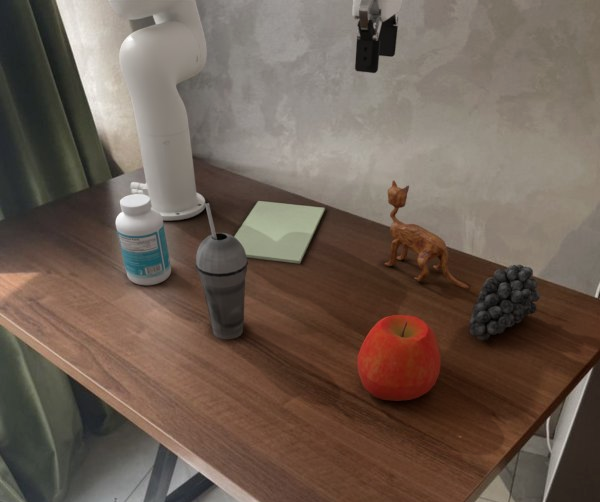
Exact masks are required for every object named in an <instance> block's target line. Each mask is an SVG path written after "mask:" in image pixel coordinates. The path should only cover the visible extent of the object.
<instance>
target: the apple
mask: <svg viewBox="0 0 600 502" xmlns="http://www.w3.org/2000/svg"><path fill="white" fill-rule="evenodd" d="M440 353H441V352H440V348H439V343H438V339H437V336H436V335H435V332H434V330H433V328H432V327H431V326H429V324H428V323H426V321H424V320H423V319H420V318H418V317H416V316H415V315H414V316H413V315H407V314H405V315H404V314H392V315H389V316H385V317H383V318H381V319H380V320H378V321H377V323H375V325H373V327H372V328H371V329H370V330H369V332H368V333H367V335H366V337H365V339H364V340H363V342H362V343H361V346H360V348H359V352H358V354H357V374H358V376H359V380H360V381H361V385H362V387H363V388H364V390H366V391H367V392H368V393H369V394H370V395H371V396H373V397H374V398H377V399H380V400H383V401H392V402H399V401H410V400H414V399H417V398H420V397H422V396H423V395H425V394H428V393H429V392H430V390H432V388H433V387H434V386H435V384H436V383H437V380H438V378H439V376H440V370H441V363H442V361H441V354H440Z"/></svg>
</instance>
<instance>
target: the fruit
mask: <svg viewBox="0 0 600 502" xmlns="http://www.w3.org/2000/svg"><path fill="white" fill-rule="evenodd" d="M533 275H534V269H532V268H531V267H530V266H524V265H522V264H512V265H509V266H508V267H507V268H506V269H504V268H498V269H497V270H495V271H494V273H493V277H488V278H487V279H485V282H484V283H483V284H482V286H481V290H480V292H479V293H478V297H477V301H476V302H477V303H475V304H474V305H473V307H472V313H471V318H469V333H470V334H471V336H473V337H476V338H477V339H478V340H480V341H487V340H489V338H490V337H491V335H492V336H494V335H495V336H496V335H497V334H499V335H500V334H503V333H504V332H505V330H506V328H512V327H514V325H515V324H520V323H521V322H522V321H523V319H524V318H525V316H529V315H533V314H535V313H536V311H537V310H538V309H537V305H536V304H535V302H538V300H539V299H540V297H541V293H540V292H539V291H538V290H537V287H538V281H537V280H536V279H535V278H533Z"/></svg>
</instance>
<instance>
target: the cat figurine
mask: <svg viewBox="0 0 600 502" xmlns="http://www.w3.org/2000/svg"><path fill="white" fill-rule="evenodd" d="M409 190H410V185H406V186H405V187H404V188H401V187H398V185H397V182H396V181H395V180H394V179H393V180H392V182H391V187H388V189H387V202H388V204H389V205H391V206H392V207H393V209H392V210H391V211H390V214H389V217H390V218H391V220H392V224H391V226H390V228H389V232H390V234H391V236H392V238H393V240H392V241H391V244H390V256H391V257H390V260H389V261H388V262H386V261H385V263H384V264H383V265H385V266H387V267H393V266H394V265H396V263H397V260H399V261H403V260H405V259H406V258H407V256H408V252H409V250H411V251H413V252H414V253H416V254H417V255H418V256H417V258H416V260H417V264H418V266H419V268H420V270H421V273H420V274H419V275H418V277H413V279H414V280H416V281H417V282H423V281H424V280H425V279H427V278H428V277H429V275H430V274H431V273H430V269H429V267H428V261H430V260H431V259H434V258H436V257H437V258H438V259H439V263H438V264H437V265H436V264H434V265H433V266H432V268H433V270H436V271H440V270H441V269H442V272H443V274H444V276H445V278H446V279H447V280H448V281H449V282H451V283H452V284H454V285H455V286H458V287H460V288H462V289H468V290H469V289H470V285H468V284H466V283H465V282H463V281H460V280H458V279H456V278H455V276H453V275H452V274H451V272H450V270H449V261H450V257H449V251H448V247H447V244H446V241H445V240H444V239H443V238H442V237H440V236H439V235H437V234H435V233H433V232H431V231H429V230H427V229H426V228H424V227H422V226H420V225H418V224H415V223H404V222H403V221H400V220H399V219H398V217H396V215H397V213H398V212H399V209H401V208H404V207H405V206H406V204H407V199H408V193H409ZM401 245H402V252H401V254H400V255H398V250H399V247H400V246H401Z"/></svg>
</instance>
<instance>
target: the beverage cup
mask: <svg viewBox="0 0 600 502" xmlns="http://www.w3.org/2000/svg"><path fill="white" fill-rule="evenodd" d="M205 209H206V214H207V218H208V223H209V227H210V232H211V234H209V235H208V236H206V237H205V238H204V239H203V240H202V242H201V243H200V244H199V245H198V248H197V251H196V255H195V257H196V258H195V268H196V269H197V274H198V276H199V279H200V281H201V284H202V289H203V294H204V298H205V303H206V307H207V312H208V316H209V321H210V325H211V328H212V332H213V334H214V336H215V337H216V338H218V339H221V340H233V339H236V338H238V337H240V336H241V335H242V334H243V332H244V323H245V294H246V293H245V292H246V276H247V271H248V265H249V260H248V257H246V253H245V250H244V248H243V246H242V244H241V243H240V242H239V241H238V240H237V239H236V238H235V237H234V236H233V235H232V234H230V233H226V232H216V228H215V223H214V220H213V215H212V211H211V205H210V203H209V202H208V203H205Z"/></svg>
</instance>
